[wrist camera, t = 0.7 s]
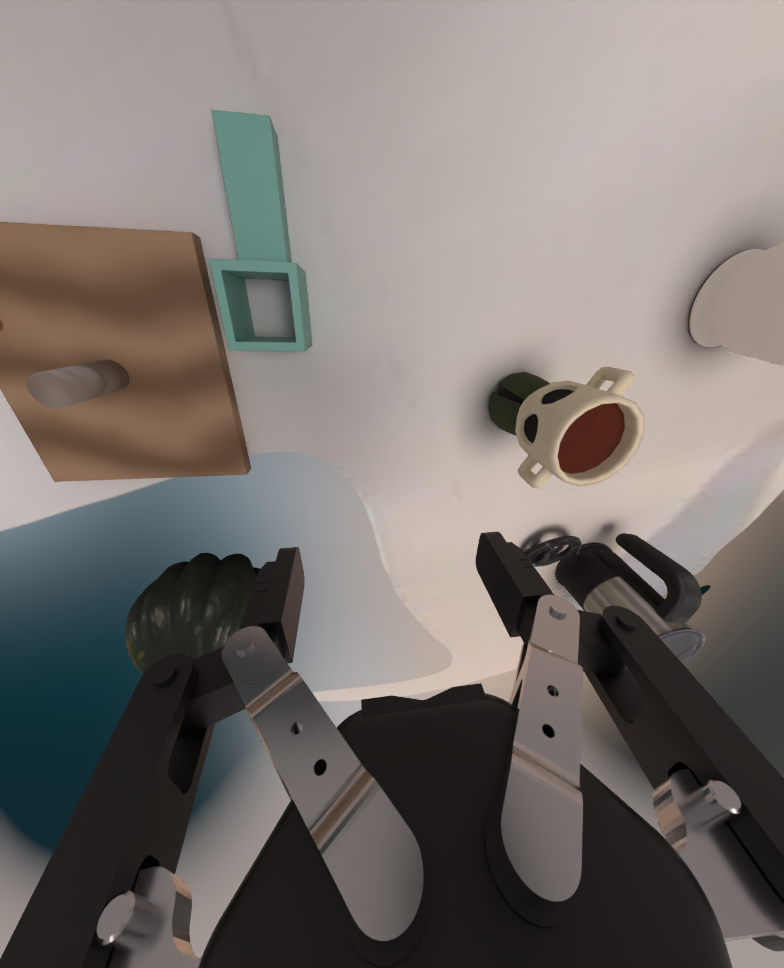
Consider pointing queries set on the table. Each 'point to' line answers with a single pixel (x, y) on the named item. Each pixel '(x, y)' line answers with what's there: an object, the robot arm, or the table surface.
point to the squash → (190, 609)
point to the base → (116, 353)
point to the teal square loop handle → (255, 231)
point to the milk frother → (629, 586)
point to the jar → (744, 306)
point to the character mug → (570, 425)
